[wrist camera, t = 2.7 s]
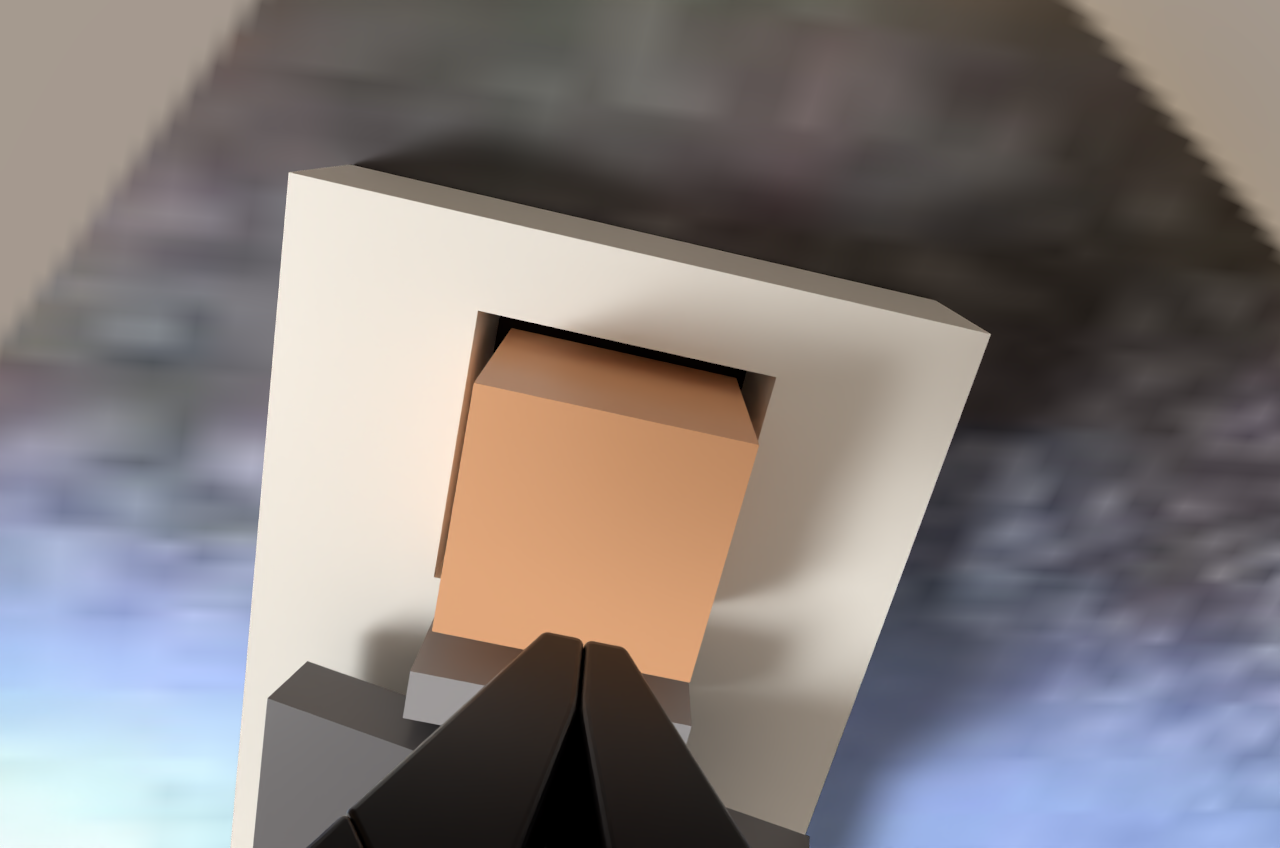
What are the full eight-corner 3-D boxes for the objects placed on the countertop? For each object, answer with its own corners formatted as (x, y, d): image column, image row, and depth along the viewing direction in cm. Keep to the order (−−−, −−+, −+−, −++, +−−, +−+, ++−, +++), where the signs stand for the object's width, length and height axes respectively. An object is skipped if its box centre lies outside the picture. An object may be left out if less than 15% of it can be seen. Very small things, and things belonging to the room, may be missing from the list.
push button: (736, 378, 13) (759, 445, 11) (681, 575, 15) (689, 682, 12) (511, 327, 13) (474, 382, 10) (474, 531, 14) (431, 631, 12)
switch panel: (935, 300, 15) (1053, 372, 10) (684, 1029, 20) (692, 1268, 16) (350, 164, 14) (218, 180, 10) (263, 957, 20) (157, 1186, 15)
